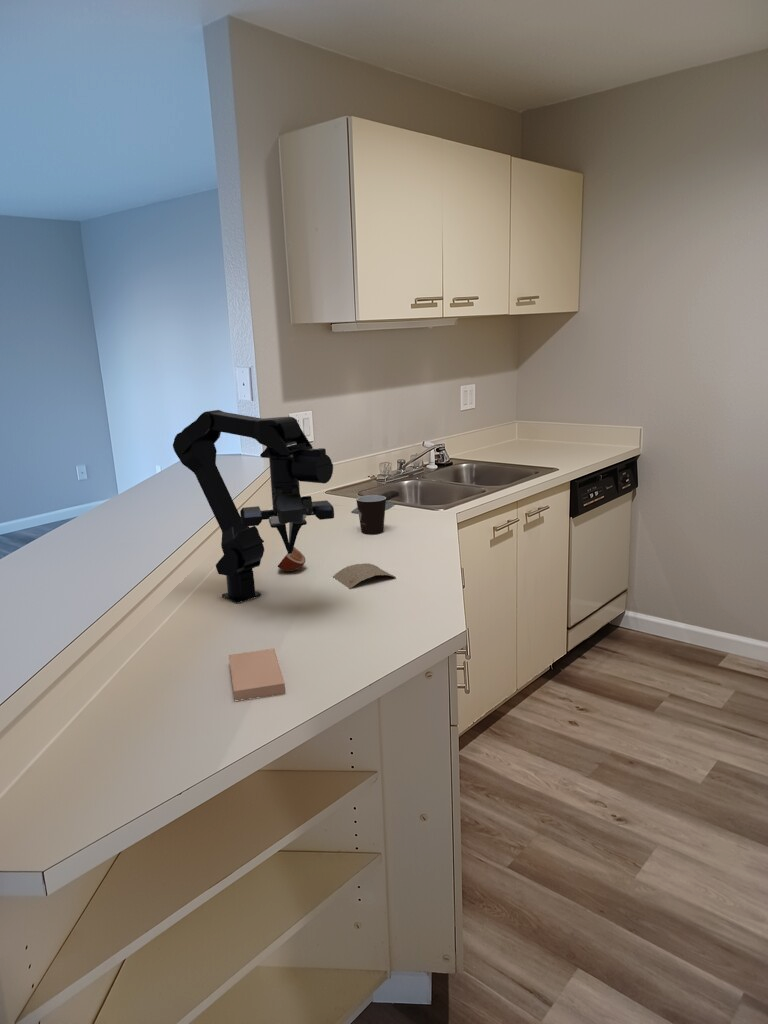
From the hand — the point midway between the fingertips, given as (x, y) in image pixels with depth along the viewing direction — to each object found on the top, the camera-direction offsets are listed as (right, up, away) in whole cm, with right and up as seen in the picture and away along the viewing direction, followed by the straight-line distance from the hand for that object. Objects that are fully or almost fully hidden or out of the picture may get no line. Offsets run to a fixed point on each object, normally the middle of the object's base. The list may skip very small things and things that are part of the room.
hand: (289, 553), depth 151 cm
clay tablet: (+15, -8, +20) cm, 26 cm away
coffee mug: (+17, +3, +61) cm, 64 cm away
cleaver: (+18, +10, +94) cm, 96 cm away
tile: (-4, -17, -22) cm, 29 cm away
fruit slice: (-3, -6, +28) cm, 29 cm away
